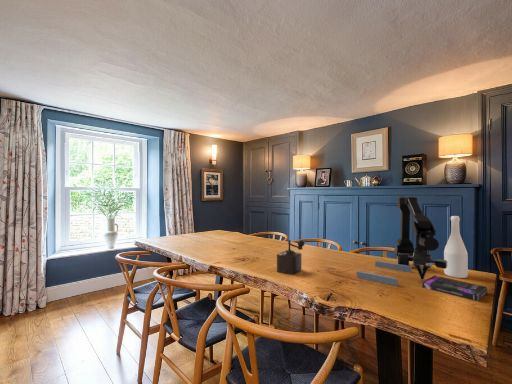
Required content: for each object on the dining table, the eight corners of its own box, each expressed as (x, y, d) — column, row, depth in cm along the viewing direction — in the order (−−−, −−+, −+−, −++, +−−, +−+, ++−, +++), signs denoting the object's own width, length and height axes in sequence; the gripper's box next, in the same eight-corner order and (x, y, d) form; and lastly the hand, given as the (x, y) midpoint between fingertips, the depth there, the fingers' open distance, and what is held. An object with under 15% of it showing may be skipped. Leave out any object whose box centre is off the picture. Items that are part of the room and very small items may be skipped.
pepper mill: (275, 272, 139) (275, 238, 139) (284, 267, 148) (284, 235, 148) (303, 277, 130) (302, 241, 130) (311, 271, 140) (310, 237, 140)
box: (421, 289, 116) (478, 303, 100) (421, 281, 116) (477, 294, 100) (434, 282, 124) (488, 294, 108) (434, 275, 124) (487, 285, 108)
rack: (375, 265, 150) (375, 260, 150) (411, 272, 138) (411, 266, 138) (357, 277, 129) (356, 271, 129) (397, 286, 117) (397, 279, 117)
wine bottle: (446, 271, 139) (445, 215, 139) (469, 275, 132) (468, 216, 132) (442, 275, 132) (441, 216, 132) (466, 280, 125) (465, 217, 126)
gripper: (395, 246, 123) (396, 279, 123) (444, 251, 111) (444, 288, 111) (401, 242, 132) (401, 273, 131) (447, 247, 119) (447, 282, 119)
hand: (422, 279), depth 123 cm, fingers closed
